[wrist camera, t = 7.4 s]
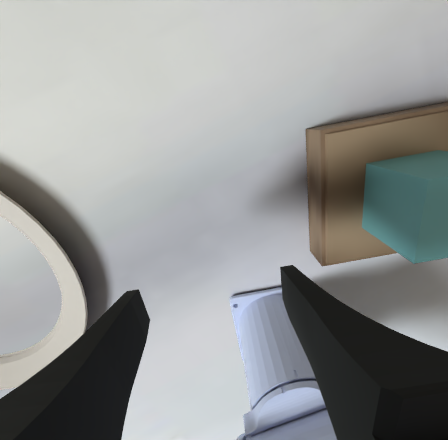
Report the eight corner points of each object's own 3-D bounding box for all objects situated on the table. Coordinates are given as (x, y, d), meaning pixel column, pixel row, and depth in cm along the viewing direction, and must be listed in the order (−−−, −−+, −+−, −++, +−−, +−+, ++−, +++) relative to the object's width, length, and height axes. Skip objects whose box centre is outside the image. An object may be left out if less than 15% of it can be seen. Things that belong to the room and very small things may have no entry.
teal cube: (426, 215, 18) (500, 248, 13) (361, 227, 18) (413, 263, 13) (438, 150, 16) (530, 161, 11) (366, 163, 16) (428, 179, 11)
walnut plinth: (425, 229, 22) (455, 245, 19) (310, 250, 22) (324, 269, 19) (448, 101, 18) (493, 97, 15) (305, 129, 18) (323, 130, 15)
